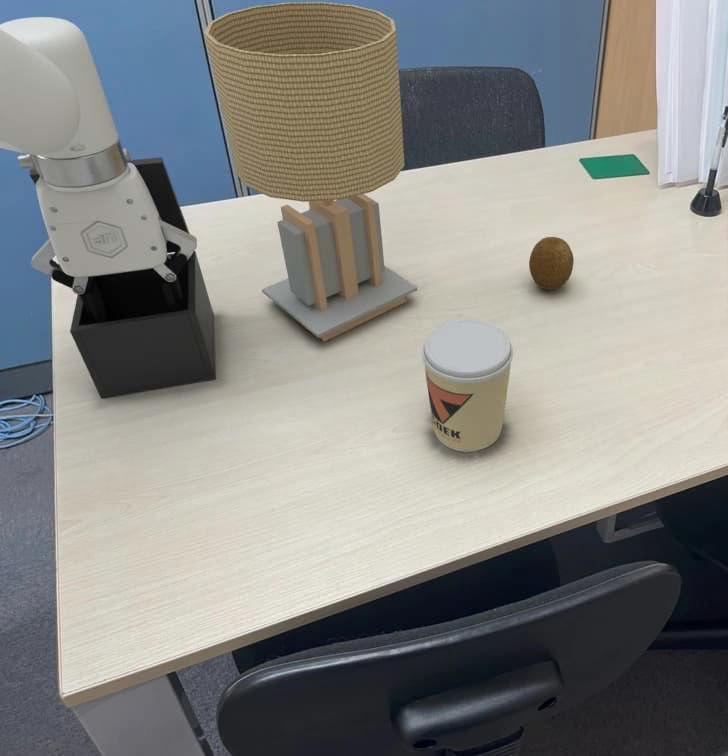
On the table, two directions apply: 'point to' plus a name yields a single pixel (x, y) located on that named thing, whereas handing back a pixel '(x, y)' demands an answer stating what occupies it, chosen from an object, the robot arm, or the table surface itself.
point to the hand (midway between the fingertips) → (138, 310)
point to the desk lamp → (317, 147)
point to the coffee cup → (467, 382)
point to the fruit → (551, 263)
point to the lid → (155, 192)
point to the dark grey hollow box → (147, 333)
